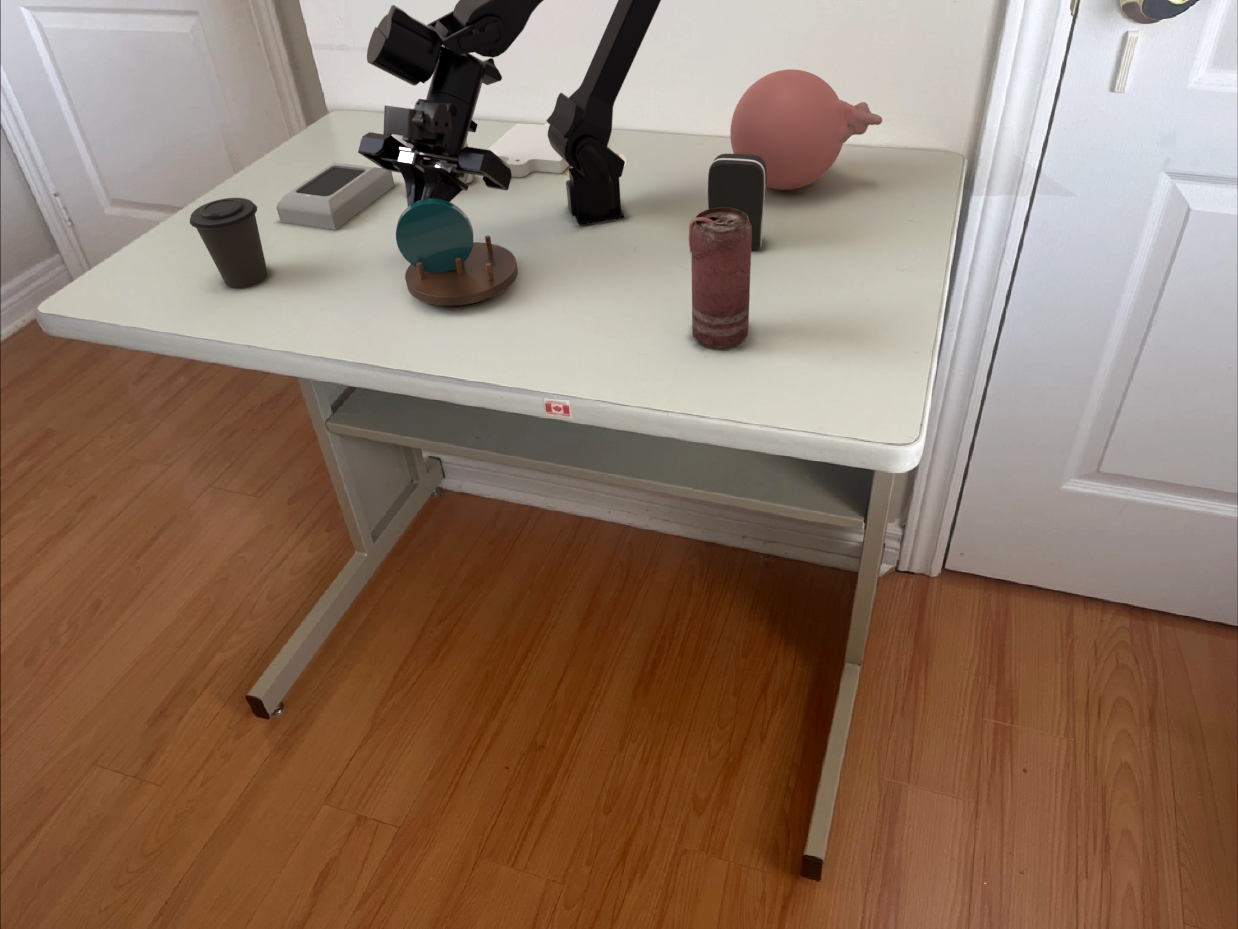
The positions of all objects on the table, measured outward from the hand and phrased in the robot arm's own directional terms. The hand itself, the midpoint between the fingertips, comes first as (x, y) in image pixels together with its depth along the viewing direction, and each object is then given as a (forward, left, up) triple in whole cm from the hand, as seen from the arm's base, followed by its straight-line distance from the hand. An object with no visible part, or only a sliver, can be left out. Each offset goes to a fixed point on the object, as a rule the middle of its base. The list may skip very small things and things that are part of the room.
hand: (415, 230), depth 110 cm
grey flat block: (+11, -29, -8) cm, 32 cm away
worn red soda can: (-30, +23, -8) cm, 39 cm away
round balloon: (-53, -10, -8) cm, 55 cm away
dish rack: (-4, +2, -6) cm, 8 cm away
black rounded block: (-39, +3, -8) cm, 40 cm away
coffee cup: (+23, -10, -8) cm, 26 cm away
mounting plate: (-20, -36, -8) cm, 42 cm away
